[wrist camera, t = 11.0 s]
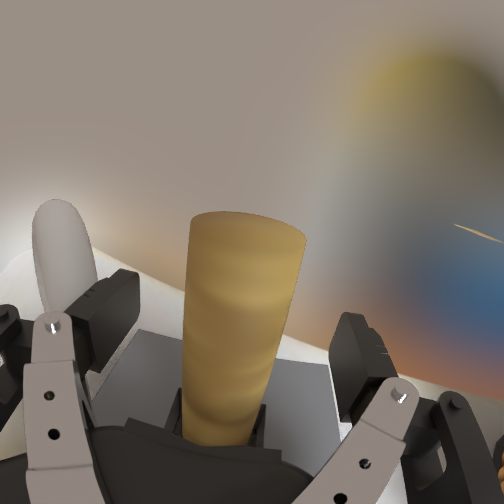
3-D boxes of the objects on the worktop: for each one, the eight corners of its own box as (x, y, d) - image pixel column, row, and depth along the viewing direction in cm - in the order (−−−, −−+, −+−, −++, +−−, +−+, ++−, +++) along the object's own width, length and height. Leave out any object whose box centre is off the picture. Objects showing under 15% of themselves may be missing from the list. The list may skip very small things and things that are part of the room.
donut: (118, 369, 16) (104, 218, 12) (73, 385, 13) (38, 228, 10) (73, 296, 22) (66, 184, 18) (40, 305, 19) (26, 189, 16)
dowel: (244, 438, 13) (301, 223, 9) (238, 483, 10) (312, 260, 6) (190, 427, 13) (205, 205, 9) (177, 471, 10) (174, 235, 6)
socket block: (316, 390, 17) (327, 364, 16) (327, 558, 6) (352, 551, 5) (141, 357, 17) (139, 329, 17) (64, 504, 6) (43, 487, 5)
